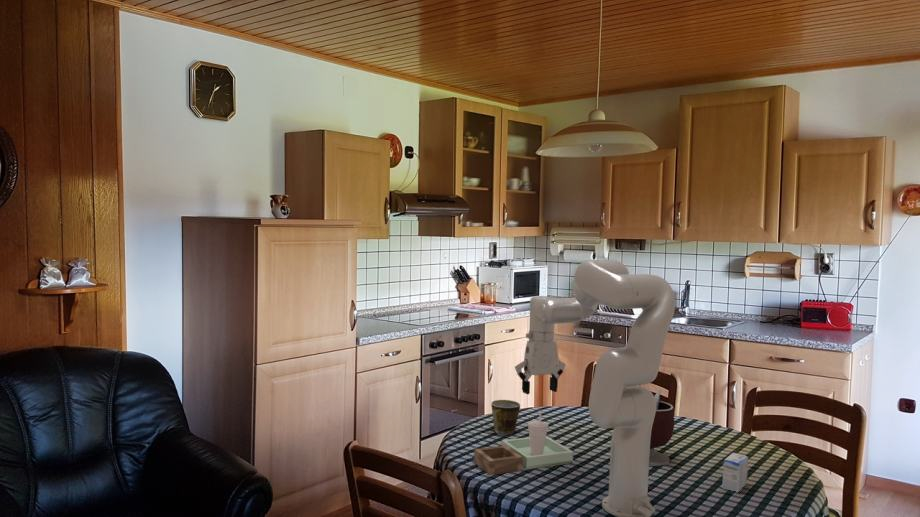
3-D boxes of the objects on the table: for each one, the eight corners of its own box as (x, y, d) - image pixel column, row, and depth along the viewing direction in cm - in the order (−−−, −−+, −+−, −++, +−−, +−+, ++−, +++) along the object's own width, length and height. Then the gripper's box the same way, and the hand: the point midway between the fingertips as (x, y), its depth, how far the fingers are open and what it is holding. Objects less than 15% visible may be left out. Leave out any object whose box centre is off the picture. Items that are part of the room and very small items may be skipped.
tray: (572, 463, 196) (573, 451, 195) (526, 469, 189) (527, 457, 189) (544, 446, 210) (545, 435, 210) (501, 451, 204) (501, 440, 203)
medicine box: (730, 481, 185) (732, 452, 185) (746, 486, 182) (748, 455, 182) (721, 489, 179) (723, 459, 179) (738, 494, 176) (740, 463, 176)
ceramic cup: (496, 425, 230) (497, 398, 229) (523, 430, 226) (524, 402, 225) (482, 435, 218) (483, 406, 218) (509, 441, 214) (510, 411, 213)
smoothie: (546, 459, 196) (548, 413, 195) (525, 457, 197) (527, 411, 196) (548, 452, 202) (549, 408, 201) (527, 450, 203) (529, 406, 203)
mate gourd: (665, 470, 192) (668, 404, 191) (620, 460, 200) (622, 396, 199) (678, 455, 205) (681, 393, 204) (635, 446, 213) (638, 386, 212)
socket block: (522, 470, 188) (522, 457, 188) (489, 475, 184) (490, 461, 184) (505, 458, 198) (505, 445, 198) (473, 462, 193) (474, 449, 193)
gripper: (522, 339, 191) (521, 397, 191) (572, 337, 198) (570, 392, 198) (510, 336, 198) (509, 391, 198) (558, 333, 205) (557, 387, 205)
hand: (539, 392), depth 198 cm, fingers open, 9 cm apart
